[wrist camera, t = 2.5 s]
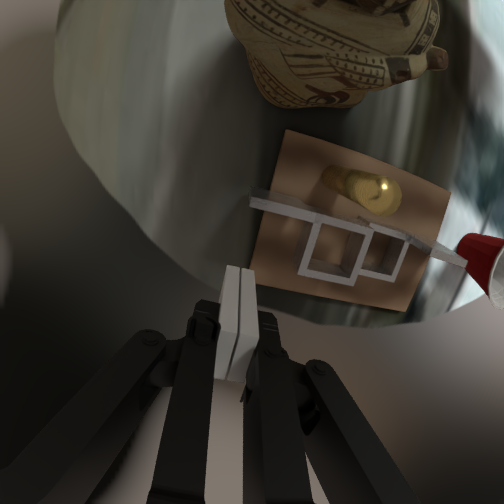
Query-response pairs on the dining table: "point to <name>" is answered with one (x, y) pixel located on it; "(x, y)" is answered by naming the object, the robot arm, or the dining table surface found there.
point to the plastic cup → (485, 264)
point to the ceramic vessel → (334, 47)
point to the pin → (364, 188)
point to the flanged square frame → (309, 234)
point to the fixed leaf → (403, 251)
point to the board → (334, 238)
